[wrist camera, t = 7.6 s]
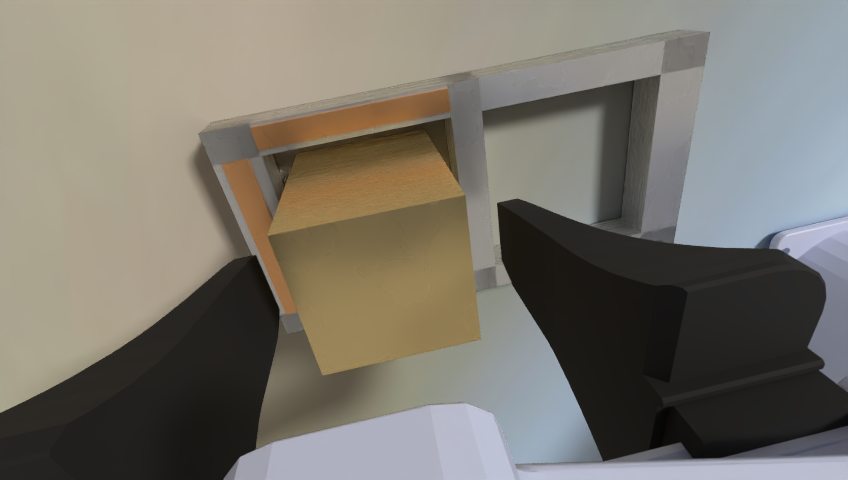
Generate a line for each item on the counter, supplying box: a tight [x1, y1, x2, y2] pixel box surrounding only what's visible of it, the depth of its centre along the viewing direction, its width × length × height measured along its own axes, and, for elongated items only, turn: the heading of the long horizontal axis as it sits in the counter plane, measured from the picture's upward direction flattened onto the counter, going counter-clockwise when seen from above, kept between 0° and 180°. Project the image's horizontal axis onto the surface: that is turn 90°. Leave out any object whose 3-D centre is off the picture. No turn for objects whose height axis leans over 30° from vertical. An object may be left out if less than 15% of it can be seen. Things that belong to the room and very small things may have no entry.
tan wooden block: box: [267, 129, 481, 375], centre depth 13 cm, size 4×4×6 cm
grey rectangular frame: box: [198, 30, 710, 334], centre depth 15 cm, size 8×16×2 cm, turn 99°
